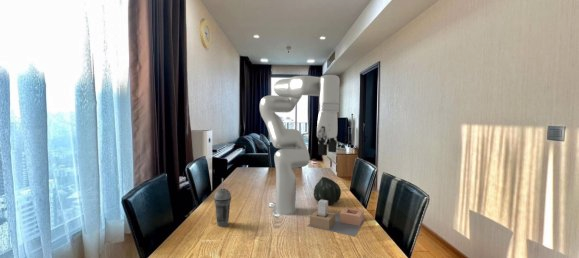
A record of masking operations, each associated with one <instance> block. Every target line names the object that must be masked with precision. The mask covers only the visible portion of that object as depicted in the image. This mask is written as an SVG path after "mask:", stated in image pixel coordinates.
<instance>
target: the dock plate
mask: <svg viewBox="0 0 579 258" xmlns="http://www.w3.org/2000/svg"><path fill="white" fill-rule="evenodd" d="M364 211H365V210H364V209H358V208H354V207H353V208H350V207H346V206H345V207H344V208H343V209H342V210H341V212H340V213H335V212H332V211H331V212H330V211H328V216H327V217H326V218H325V217H320V216H318V209H317V210H315V212H313V213H312V214H311V215H309V223H308V225H307V227H309V228H314V229H319V230H323V231H327V232H328V231H329V232H332V233H336V234H342V235H346V236H351V237H356V236H357V234H358V232H359V231H360V230H361V227H362V226H363V224H364V223H365V221H366V218H364V216H365V212H364Z"/></svg>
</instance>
